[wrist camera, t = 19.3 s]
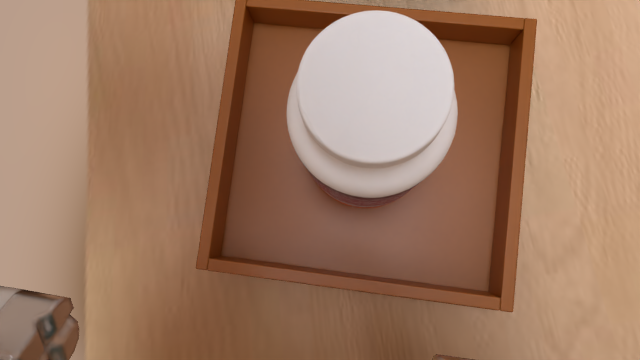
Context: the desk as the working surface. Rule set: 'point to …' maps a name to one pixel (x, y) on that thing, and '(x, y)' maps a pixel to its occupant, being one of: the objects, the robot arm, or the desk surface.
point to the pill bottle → (372, 107)
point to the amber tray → (388, 220)
